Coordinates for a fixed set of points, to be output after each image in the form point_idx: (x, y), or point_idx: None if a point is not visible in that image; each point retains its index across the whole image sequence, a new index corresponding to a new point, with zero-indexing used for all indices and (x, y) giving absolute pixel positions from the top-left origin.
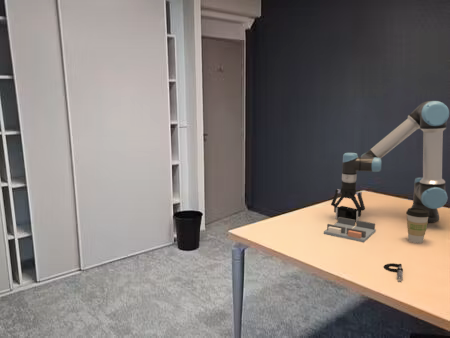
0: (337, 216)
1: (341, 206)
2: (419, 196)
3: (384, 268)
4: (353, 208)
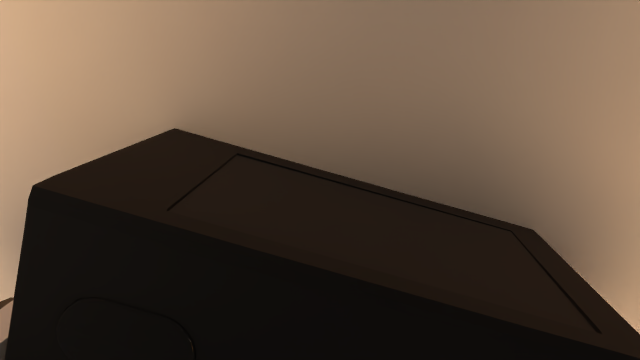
0: None
1: (48, 300)
2: None
3: None
4: (475, 338)
